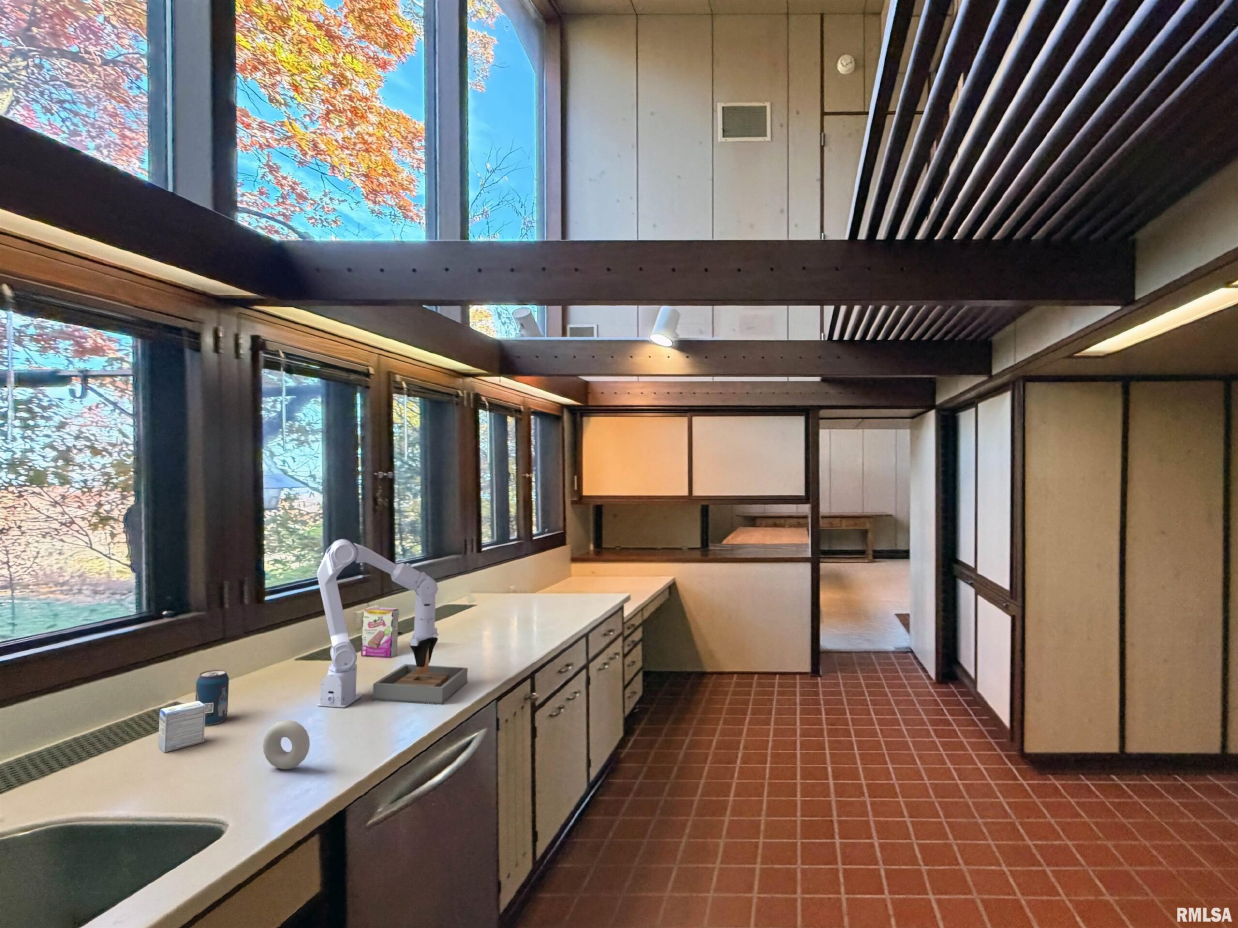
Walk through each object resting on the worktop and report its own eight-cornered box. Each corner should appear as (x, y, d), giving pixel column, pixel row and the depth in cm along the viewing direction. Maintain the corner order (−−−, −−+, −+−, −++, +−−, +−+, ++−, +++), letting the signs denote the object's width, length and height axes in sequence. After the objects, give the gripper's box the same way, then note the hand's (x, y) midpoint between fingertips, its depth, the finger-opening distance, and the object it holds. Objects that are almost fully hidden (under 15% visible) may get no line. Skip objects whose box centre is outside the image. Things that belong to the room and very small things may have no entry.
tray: (441, 704, 176) (442, 688, 176) (372, 700, 178) (373, 683, 178) (467, 682, 196) (467, 667, 196) (404, 678, 198) (405, 664, 198)
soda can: (198, 717, 162) (200, 670, 162) (229, 715, 164) (232, 667, 165) (190, 727, 155) (193, 677, 156) (223, 724, 158) (226, 675, 158)
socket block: (433, 696, 180) (434, 686, 180) (393, 694, 182) (393, 683, 182) (449, 683, 192) (450, 673, 192) (411, 681, 194) (411, 671, 194)
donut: (312, 766, 136) (314, 719, 137) (302, 774, 133) (304, 725, 133) (269, 763, 138) (271, 715, 138) (257, 770, 134) (260, 721, 134)
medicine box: (197, 737, 150) (199, 700, 150) (204, 742, 147) (206, 704, 147) (157, 747, 144) (159, 708, 144) (163, 753, 141) (165, 713, 141)
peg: (425, 673, 185) (425, 648, 186) (414, 672, 186) (415, 648, 186) (430, 670, 189) (430, 646, 189) (420, 669, 189) (420, 645, 189)
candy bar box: (360, 656, 221) (362, 608, 222) (367, 653, 226) (369, 606, 227) (391, 658, 220) (393, 610, 221) (397, 654, 225) (399, 607, 226)
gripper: (427, 623, 180) (426, 672, 180) (447, 613, 194) (445, 658, 194) (403, 622, 181) (402, 671, 180) (424, 612, 195) (423, 657, 195)
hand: (423, 664), depth 187 cm, fingers closed on peg, 3 cm apart
